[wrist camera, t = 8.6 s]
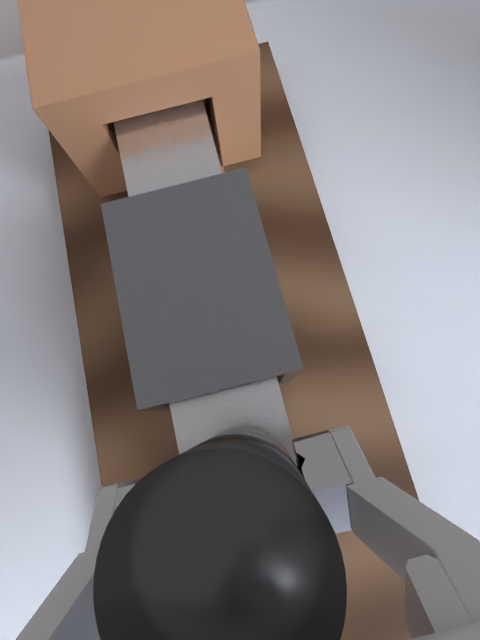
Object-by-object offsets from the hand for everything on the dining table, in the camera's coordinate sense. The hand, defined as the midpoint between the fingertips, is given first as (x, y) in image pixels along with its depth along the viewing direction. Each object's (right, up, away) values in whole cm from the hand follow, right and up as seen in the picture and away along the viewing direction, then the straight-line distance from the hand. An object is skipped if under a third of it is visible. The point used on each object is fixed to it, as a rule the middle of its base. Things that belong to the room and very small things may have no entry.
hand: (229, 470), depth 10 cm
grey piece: (-1, +6, +9) cm, 11 cm away
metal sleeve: (-1, +4, +10) cm, 10 cm away
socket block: (-4, +14, +12) cm, 19 cm away
